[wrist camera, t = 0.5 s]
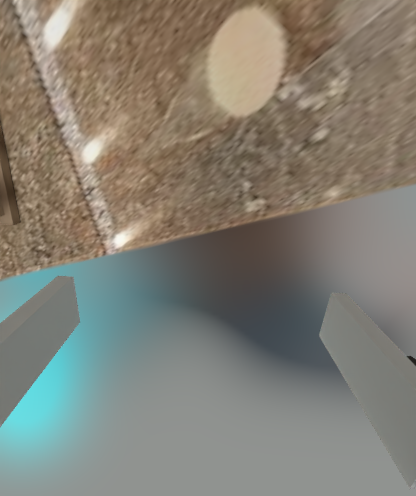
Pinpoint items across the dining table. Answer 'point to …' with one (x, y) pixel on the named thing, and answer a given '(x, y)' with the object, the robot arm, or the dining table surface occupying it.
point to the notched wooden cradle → (6, 189)
